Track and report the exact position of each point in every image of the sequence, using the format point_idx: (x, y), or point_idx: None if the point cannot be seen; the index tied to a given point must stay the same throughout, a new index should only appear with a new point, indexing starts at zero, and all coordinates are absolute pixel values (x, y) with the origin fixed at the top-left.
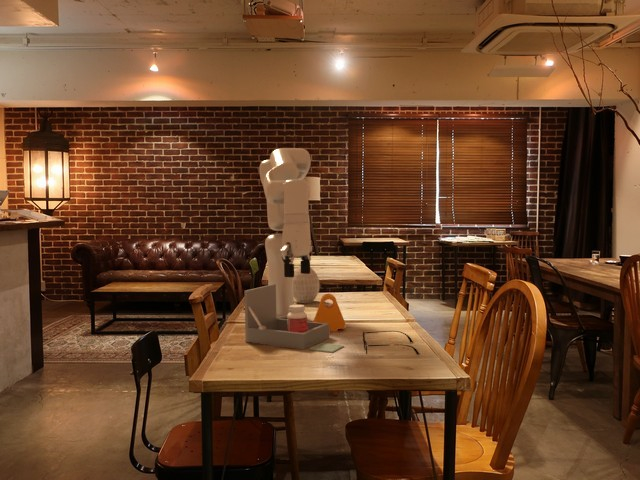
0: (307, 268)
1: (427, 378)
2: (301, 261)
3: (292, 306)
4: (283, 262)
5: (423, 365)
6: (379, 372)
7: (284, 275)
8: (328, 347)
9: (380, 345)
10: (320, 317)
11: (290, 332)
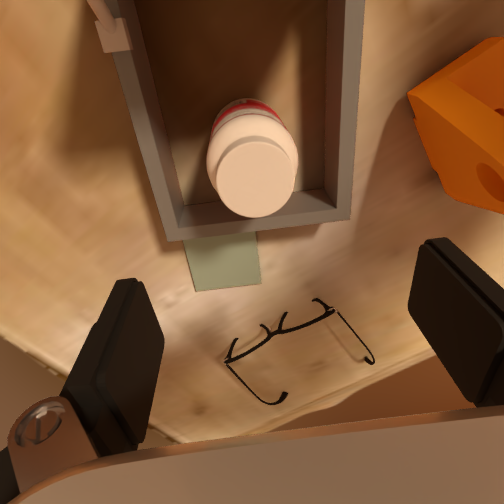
0: (433, 333)
1: (172, 436)
2: (502, 340)
3: (228, 174)
4: (19, 426)
5: (227, 416)
6: None
7: (115, 285)
8: (222, 265)
9: (239, 379)
10: (441, 131)
11: (156, 191)
